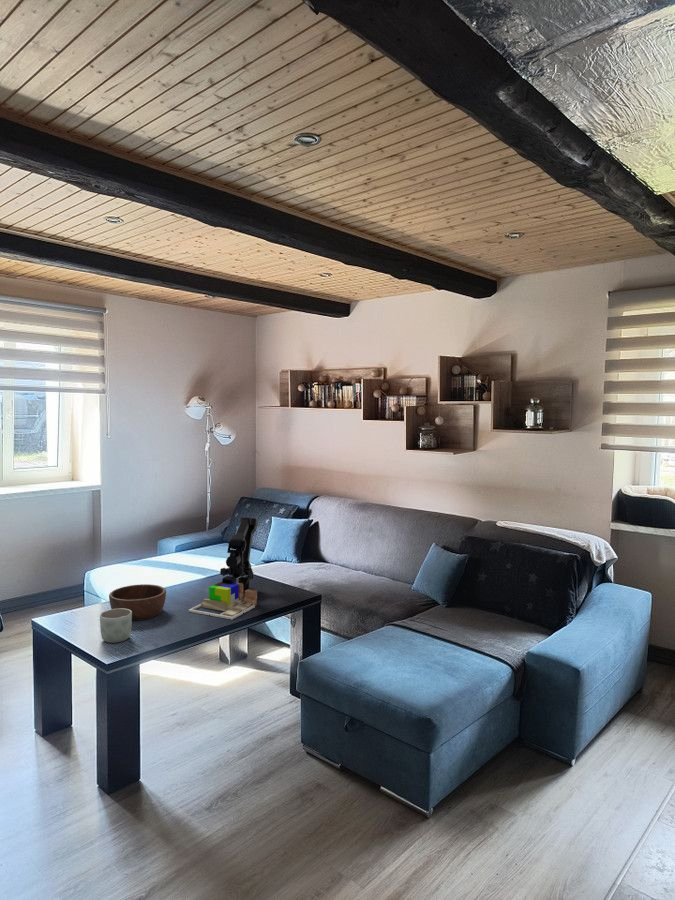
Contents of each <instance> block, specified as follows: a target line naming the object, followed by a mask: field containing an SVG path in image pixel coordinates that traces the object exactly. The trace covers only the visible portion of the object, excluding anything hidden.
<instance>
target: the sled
mask: <svg viewBox="0 0 675 900" xmlns="http://www.w3.org/2000/svg"><path fill="white" fill-rule="evenodd" d="M236 583H237V584H239V601H237V602H235V603H233V604H231V605H229V606H227V602H222V601H216V600H210V599H209V598H203V599H202V602H201V603H200V604H201V607H200V608H206V609H211V610H217V611H223V612H225V611H227V610H229V609H231V608H233V607H235V606H237V605H238V604H240V603H243V604H245V597H244V592H243V584H241V583H239V582H236Z"/></svg>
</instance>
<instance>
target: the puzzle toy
mask: <svg viewBox="0 0 675 900" xmlns="http://www.w3.org/2000/svg"><path fill="white" fill-rule="evenodd" d="M208 599H210V600H216V601H222V602H227V606H229V605H231V604H233V603H235V602H237V601H239V584H229V583H222V581H220V582H218V583H215V584H213V585H211V586H209V587H208Z"/></svg>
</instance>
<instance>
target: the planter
mask: <svg viewBox="0 0 675 900" xmlns="http://www.w3.org/2000/svg"><path fill="white" fill-rule="evenodd" d="M132 625H133V620H132V611H131V610H129V609H123V608H119V609H111V608H110V609H108V610H104V611H102V612H101V613H100V614H99V627H100V634H101V635H100V637H101V639H102V640H103V641H104V642H106V643H109V644H110V643H111V644H115V643H122V642H125V641H127V640H128V639H129V638H130V637H131V634H132V627H133V626H132Z"/></svg>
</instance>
